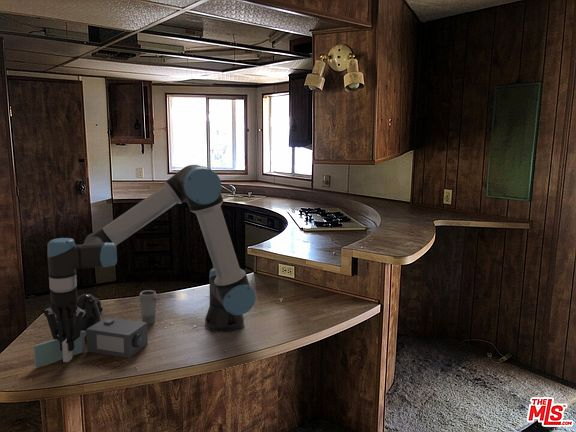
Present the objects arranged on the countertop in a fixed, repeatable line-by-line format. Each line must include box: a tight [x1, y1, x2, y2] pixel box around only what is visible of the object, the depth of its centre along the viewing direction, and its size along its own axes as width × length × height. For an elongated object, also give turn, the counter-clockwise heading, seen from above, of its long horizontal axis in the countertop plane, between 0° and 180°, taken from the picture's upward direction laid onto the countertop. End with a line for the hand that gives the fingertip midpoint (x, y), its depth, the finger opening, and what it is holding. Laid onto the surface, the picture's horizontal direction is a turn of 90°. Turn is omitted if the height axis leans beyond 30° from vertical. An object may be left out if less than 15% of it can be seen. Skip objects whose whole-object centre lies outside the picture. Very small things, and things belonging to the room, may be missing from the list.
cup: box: [138, 289, 158, 325], centre depth 178 cm, size 7×7×12 cm
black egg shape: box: [73, 293, 102, 338], centre depth 165 cm, size 10×10×15 cm
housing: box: [86, 316, 149, 359], centre depth 156 cm, size 18×11×9 cm, turn 76°
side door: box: [33, 331, 86, 368], centre depth 147 cm, size 16×2×7 cm, turn 139°
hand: (67, 359), depth 144 cm, fingers closed
